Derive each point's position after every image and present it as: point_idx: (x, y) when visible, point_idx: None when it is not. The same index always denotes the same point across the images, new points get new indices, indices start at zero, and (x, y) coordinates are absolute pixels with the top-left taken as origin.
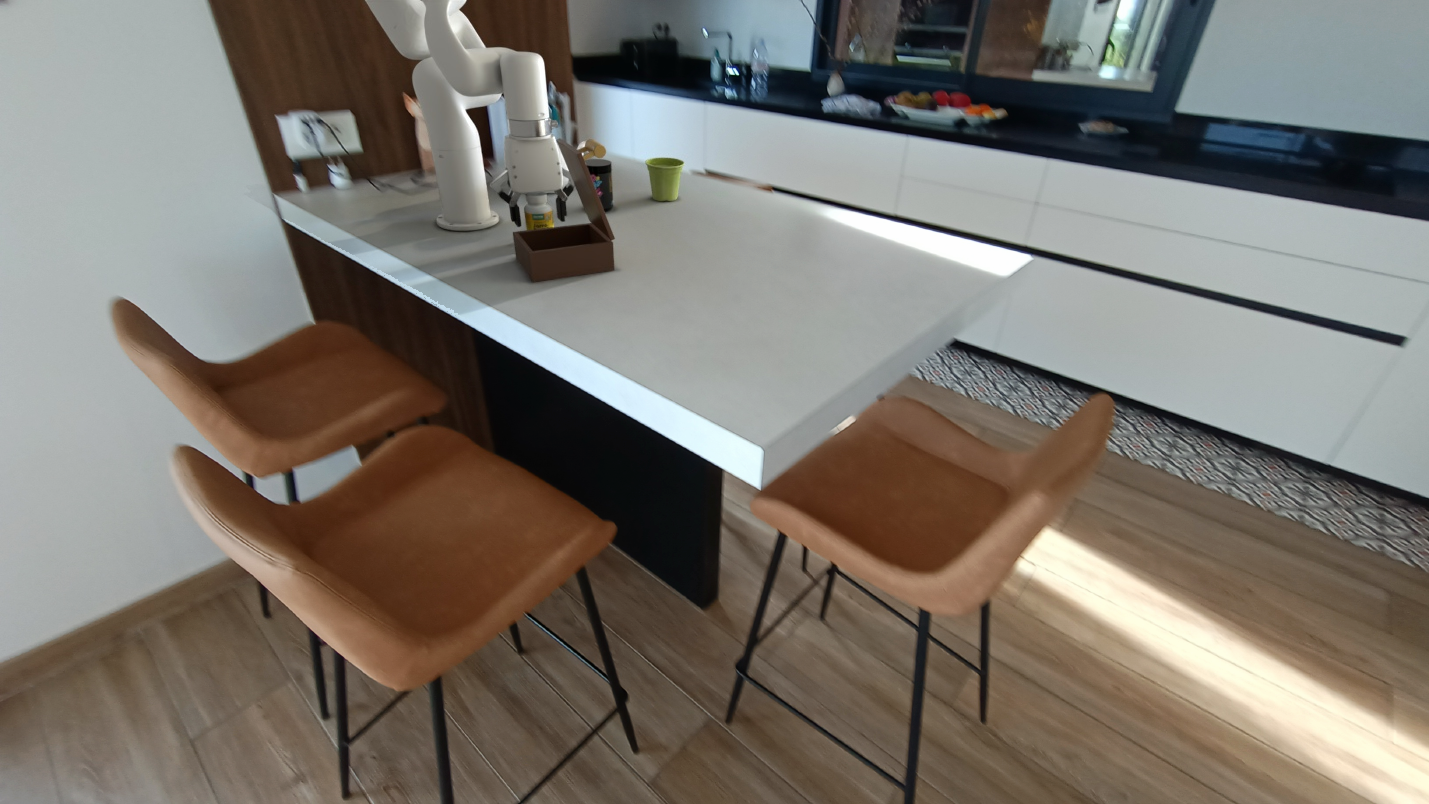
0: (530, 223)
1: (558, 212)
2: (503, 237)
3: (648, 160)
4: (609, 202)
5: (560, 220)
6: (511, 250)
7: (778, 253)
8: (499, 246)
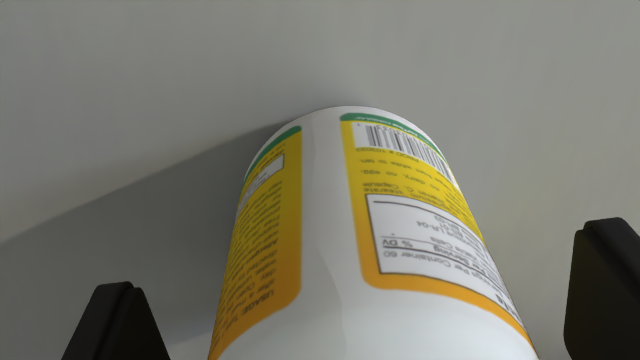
0: None
1: (604, 336)
2: (16, 13)
3: None
4: None
5: (566, 316)
6: None
7: None
8: (26, 219)
